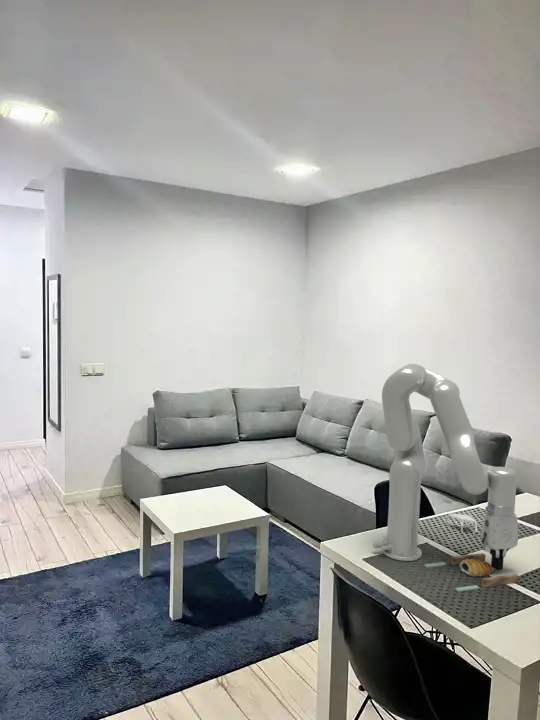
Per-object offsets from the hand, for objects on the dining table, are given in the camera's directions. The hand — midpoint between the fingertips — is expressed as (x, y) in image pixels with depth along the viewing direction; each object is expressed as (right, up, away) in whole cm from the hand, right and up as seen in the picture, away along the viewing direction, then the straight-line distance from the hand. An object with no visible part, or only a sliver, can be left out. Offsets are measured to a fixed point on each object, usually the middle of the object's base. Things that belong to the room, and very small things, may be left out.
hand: (496, 568), depth 170 cm
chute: (-5, -1, -1) cm, 5 cm away
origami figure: (0, +2, +33) cm, 33 cm away
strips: (-15, -1, -5) cm, 16 cm away
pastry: (-7, -1, -1) cm, 7 cm away
